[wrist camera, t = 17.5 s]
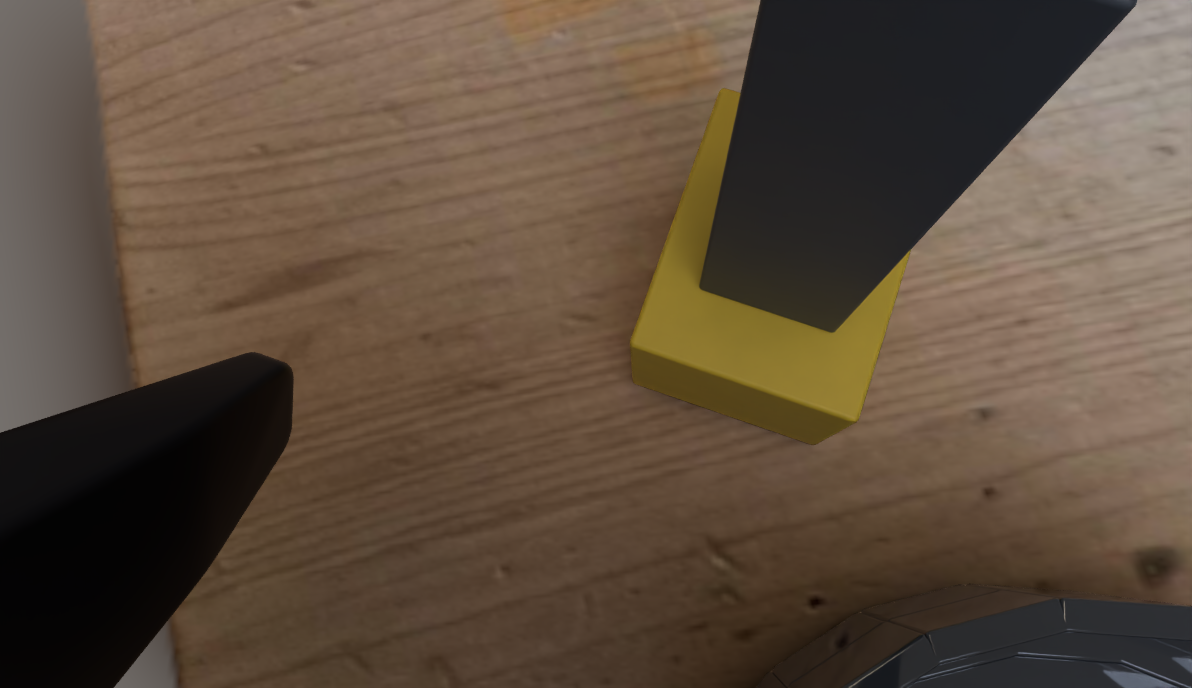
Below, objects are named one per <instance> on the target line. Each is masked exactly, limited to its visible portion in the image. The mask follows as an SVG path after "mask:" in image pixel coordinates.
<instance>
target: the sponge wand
mask: <svg viewBox="0 0 1192 688" xmlns="http://www.w3.org/2000/svg"><path fill="white" fill-rule="evenodd" d="M1136 3H1137V0H761V1H760V5H759V10H758V15H757V19H756V24H755V29H754V33H753V38H752V42H751V47H750V52H749V56H748V61H747V66H746V70H745V75H744V80H743V84H742V89H741V93H739V92H736V91H732V90H729V89H726V88H722V89H721V90H720V91H719V93H718V96H717V99H716V102H715V105H714V107H713V110H712V113H711V116H710V119H709V121H708V124H707V127H706V130H705V133H704V135H703V138H702V141H701V144H700V147H699V149H698V152H697V155H696V158H695V161H694V163H693V166H692V169H691V172H690V175H689V177H688V180H687V183H686V186H685V189H684V191H683V194H682V197H681V200H680V202H679V205H678V208H677V211H676V214H675V216H674V219H673V222H672V225H671V228H670V230H669V233H668V236H667V239H666V242H665V244H664V247H663V250H662V253H661V256H660V258H659V261H658V264H657V267H656V270H655V272H654V275H653V278H652V281H651V284H650V286H649V289H648V292H647V295H646V298H645V300H644V303H643V306H642V309H641V312H640V314H639V317H638V320H637V323H636V326H635V328H634V331H633V334H632V337H631V340H630V352H631V365H632V378H633V382H634V383H635V384H637V385H640V386H642V387H645V388H648V389H651V390H654V391H657V392H660V393H663V394H666V395H669V396H671V397H674V398H677V399H680V400H683V401H686V402H689V403H692V404H695V405H698V406H700V407H703V408H706V409H709V410H712V411H715V412H718V413H721V414H724V415H727V416H730V417H732V418H735V419H738V420H741V421H744V422H747V423H750V424H753V425H756V426H759V427H761V428H764V429H767V430H770V431H773V432H776V433H779V434H782V435H785V436H788V437H790V438H793V439H796V440H799V441H802V442H805V443H808V444H811V445H816V444H818V443H819V442H821V441H823V440H825V439H827V438H829V437H830V436H832V435H834V434H836V433H838V432H840V431H841V430H843V429H845V428H847V427H849V426H851V425H852V424H854V423H856V422H857V421H858V420H859V417H860V414H861V411H862V407H863V404H864V401H865V398H866V394H867V391H868V388H869V385H870V381H871V378H872V375H873V372H874V368H875V365H876V362H877V359H878V355H879V352H880V349H881V346H882V342H883V339H884V336H885V333H886V329H887V326H888V323H889V320H890V316H891V313H892V310H893V307H894V303H895V300H896V297H897V294H898V290H899V287H900V284H901V281H902V277H903V274H904V271H905V268H906V264H907V261H908V258H909V255H910V251H911V249H912V248H913V247H914V245H915V244H916V243H917V242H918V241H919V240H920V239H921V238H922V237H923V236H924V235H925V234H926V232H927V231H928V230H929V229H930V228H931V227H932V226H933V225H934V224H935V223H936V222H937V221H938V219H939V218H940V217H941V216H942V215H943V214H944V213H945V212H946V211H947V210H948V209H949V208H950V206H951V205H952V204H953V203H954V202H955V201H956V200H957V199H958V198H959V197H960V196H961V195H962V193H963V192H964V191H965V190H966V189H967V188H968V187H969V186H970V185H971V184H972V183H973V181H974V180H975V179H976V178H977V177H978V176H979V175H980V174H981V173H982V172H983V171H984V170H985V168H986V167H987V166H988V165H989V164H990V163H991V162H992V161H993V160H994V159H995V158H996V157H997V155H998V154H999V153H1000V152H1001V151H1002V150H1003V149H1004V148H1005V147H1006V146H1007V145H1008V144H1009V142H1010V141H1011V140H1012V139H1013V138H1014V137H1015V136H1016V135H1017V134H1018V133H1019V132H1020V131H1021V129H1022V128H1023V127H1024V126H1025V125H1026V124H1027V123H1028V122H1029V121H1030V120H1031V119H1032V117H1033V116H1034V115H1035V114H1036V113H1037V112H1038V111H1039V110H1040V109H1041V108H1042V107H1043V106H1044V104H1045V103H1046V102H1047V101H1048V100H1049V99H1050V98H1051V97H1052V96H1053V95H1054V94H1055V93H1056V91H1057V90H1058V89H1059V88H1060V87H1061V86H1062V85H1063V84H1064V83H1065V82H1066V81H1067V80H1068V78H1069V77H1070V76H1071V75H1072V74H1073V73H1074V72H1075V71H1076V70H1077V69H1078V68H1079V66H1080V65H1081V64H1082V63H1083V62H1084V61H1085V60H1086V59H1087V58H1088V57H1089V56H1090V55H1091V53H1092V52H1093V51H1094V50H1095V49H1096V48H1097V47H1098V46H1099V45H1100V44H1101V43H1102V42H1103V40H1104V39H1105V38H1106V37H1107V36H1108V35H1109V34H1110V33H1111V32H1112V31H1113V30H1114V29H1115V27H1116V26H1117V25H1118V24H1119V23H1120V22H1121V21H1122V20H1123V19H1124V18H1125V17H1126V16H1127V14H1128V13H1129V12H1130V11H1131V10H1132V9H1133V8H1134V7H1135V5H1136Z"/></svg>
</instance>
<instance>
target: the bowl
mask: <svg viewBox="0 0 1192 688" xmlns="http://www.w3.org/2000/svg"><path fill="white" fill-rule="evenodd" d="M756 688H1192V606H1191V605H1183V604H1174V603H1166V602H1158V601H1150V600H1142V599H1134V598H1124V597H1117V596H1109V595H1101V594H1093V593H1085V592H1077V591H1068V590H1053V589H1039V588H1025V587H1010V586H996V585H981V584H967V585H960V584H959V585H955V586H951V587H948V588H944V589H940V590H936V591H932V592H928V593H924V594H921V595H917V596H913V597H909V598H905V599H901V600H897V601H894V602H890V603H886V604H882V605H878V606H874V607H870V608H866V609H864V610H862V611H861V613H855V614H853V615H852V616H850V617H849V618H847V619H846V620H844V621H843V622H841V623H840V624H838V625H837V626H835V627H834V628H832V629H831V630H829V631H828V632H826V633H825V634H823V635H822V636H820V637H819V638H817V639H816V640H814V641H813V642H811V643H810V644H808V645H807V646H805V647H804V648H802V649H801V650H799V651H798V652H796V653H795V654H793V655H792V656H790V657H789V658H787V659H786V660H784V661H783V662H781V663H780V664H778V665H777V666H775V667H774V668H773V670H772V672H768V673H767V674H766V675H765V677H764V678H763V679H762V680H761V682H760V683H759V684H758V686H757V687H756Z"/></svg>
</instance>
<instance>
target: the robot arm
mask: <svg viewBox="0 0 1192 688" xmlns="http://www.w3.org/2000/svg"><path fill="white" fill-rule="evenodd" d="M293 380H294V379H293V372H292V369H291V367H290V366H289V365H288V364H287V363H285V362H282V361H279V360H277V359H274V358H271V357H268V356H265V355H263V354H260V353H255V352H250V353H245V354H242V355H239V356H236V357H233V358H230V359H226V360H223V361H220V362H217V363H214V364H211V365H208V366H205V367H202V368H199V369H196V370H192V371H189V372H186V373H183V374H180V375H177V376H174V377H171V378H168V379H165V380H162V381H159V382H155V383H152V384H149V385H146V386H143V387H140V388H137V389H134V390H131V391H128V392H125V393H122V394H118V395H115V396H112V397H109V398H106V399H103V400H100V401H97V402H94V403H91V404H88V405H84V406H81V407H79V408H75V409H72V410H69V411H66V412H63V413H60V414H57V415H54V416H50V417H47V418H44V419H41V420H38V421H35V422H32V423H29V424H26V425H23V426H20V427H17V428H13V429H11V430H8V431H4V432H1V433H0V688H114V687H115V685H116V684H117V683H118V682H119V681H120V679H121V678H122V677H123V676H124V674H125V673H126V672H127V671H128V669H129V668H130V667H131V666H132V664H133V663H134V662H135V661H136V659H137V658H138V657H139V656H140V654H141V653H142V652H143V651H144V649H145V648H146V647H147V646H148V644H149V643H150V642H151V641H152V639H153V638H154V637H155V636H156V634H157V633H158V632H159V631H160V630H161V628H162V627H163V626H164V625H165V623H166V622H167V621H168V620H169V618H170V617H171V616H172V615H173V613H174V612H175V611H176V610H177V608H178V607H179V606H180V605H181V603H182V602H183V601H184V600H185V598H186V597H187V596H188V595H189V593H190V592H191V591H192V590H193V588H194V587H195V586H196V584H197V583H198V582H199V580H200V579H201V578H202V576H203V575H204V574H205V573H206V571H207V570H208V568H209V567H210V565H211V564H212V562H213V561H214V559H215V558H216V556H217V555H218V553H219V552H220V550H221V549H222V547H223V546H224V544H225V542H226V541H227V539H228V538H229V536H230V535H231V533H232V531H233V530H234V528H235V527H236V525H237V524H238V522H239V520H240V519H241V517H242V516H243V514H244V512H245V511H246V509H247V508H248V506H249V505H250V503H251V501H252V500H253V498H254V497H255V495H256V494H257V492H258V490H259V489H260V487H261V486H262V484H263V483H264V481H265V479H266V478H267V476H268V475H269V473H270V471H271V470H272V468H273V467H274V465H275V464H276V462H277V460H278V459H279V457H280V456H281V454H282V453H283V451H284V449H285V447H286V445H287V443H288V440H289V437H290V434H291V430H292V411H293Z"/></svg>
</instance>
